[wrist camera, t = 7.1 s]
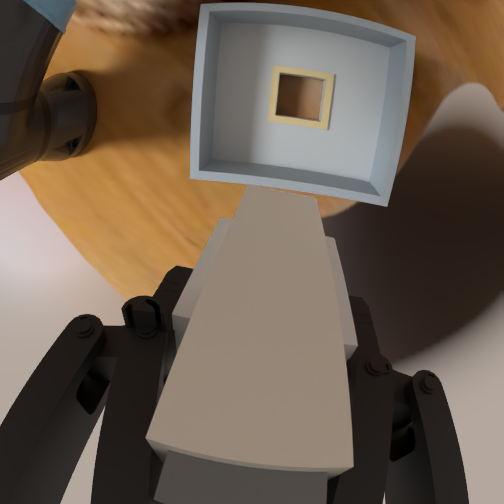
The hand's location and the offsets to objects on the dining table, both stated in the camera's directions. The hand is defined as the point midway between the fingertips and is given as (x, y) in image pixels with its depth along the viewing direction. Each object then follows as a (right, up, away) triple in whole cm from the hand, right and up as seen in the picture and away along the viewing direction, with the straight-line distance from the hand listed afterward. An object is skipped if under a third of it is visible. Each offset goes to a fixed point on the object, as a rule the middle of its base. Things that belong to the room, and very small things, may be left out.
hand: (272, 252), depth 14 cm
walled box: (+5, +19, +17) cm, 26 cm away
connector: (0, +2, +3) cm, 4 cm away
